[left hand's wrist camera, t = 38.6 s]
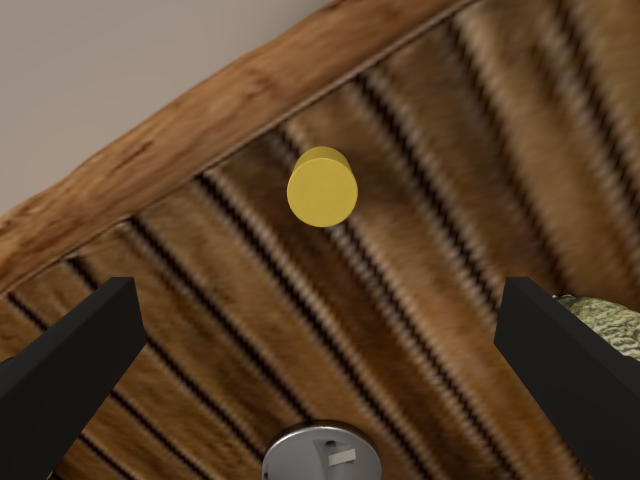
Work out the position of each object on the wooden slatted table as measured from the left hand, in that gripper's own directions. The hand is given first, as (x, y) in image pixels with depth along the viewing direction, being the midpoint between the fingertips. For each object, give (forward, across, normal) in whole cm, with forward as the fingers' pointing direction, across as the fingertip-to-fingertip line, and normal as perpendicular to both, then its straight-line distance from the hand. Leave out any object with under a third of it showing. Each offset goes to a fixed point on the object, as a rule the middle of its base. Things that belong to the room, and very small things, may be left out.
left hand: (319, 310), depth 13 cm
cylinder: (+23, 0, -1) cm, 23 cm away
